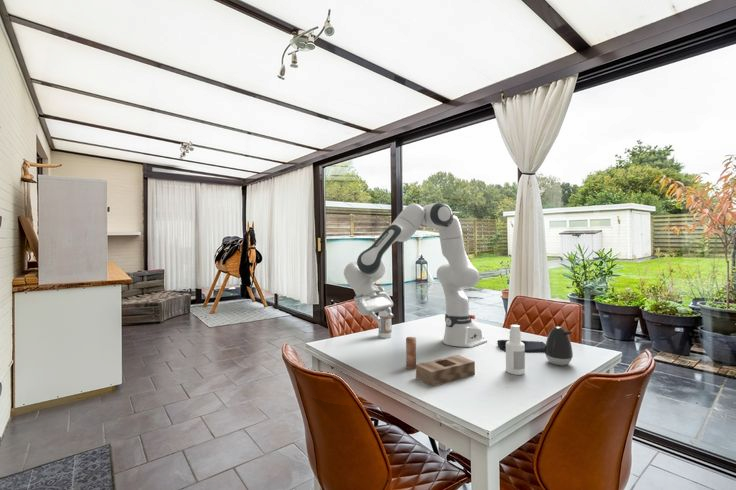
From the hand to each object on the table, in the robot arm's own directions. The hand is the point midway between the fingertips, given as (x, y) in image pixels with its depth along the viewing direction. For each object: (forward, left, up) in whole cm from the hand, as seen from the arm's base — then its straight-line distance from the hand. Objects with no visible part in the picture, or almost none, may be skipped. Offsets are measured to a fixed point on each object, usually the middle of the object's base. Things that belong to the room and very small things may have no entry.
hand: (385, 319), depth 149 cm
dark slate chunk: (-65, +17, -19) cm, 70 cm away
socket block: (-11, +25, -18) cm, 33 cm away
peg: (-5, +12, -18) cm, 22 cm away
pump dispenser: (-60, +39, -18) cm, 73 cm away
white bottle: (-37, +36, -18) cm, 54 cm away
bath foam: (-20, -32, -18) cm, 42 cm away
